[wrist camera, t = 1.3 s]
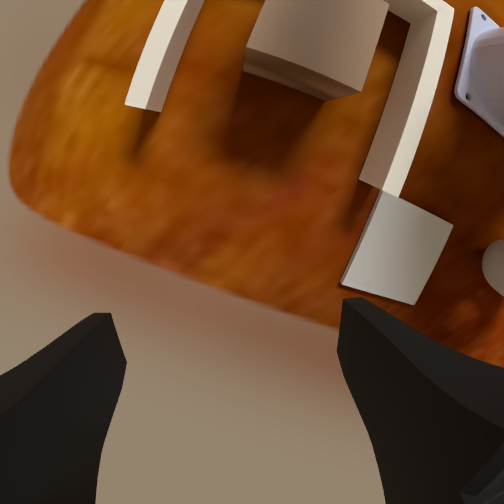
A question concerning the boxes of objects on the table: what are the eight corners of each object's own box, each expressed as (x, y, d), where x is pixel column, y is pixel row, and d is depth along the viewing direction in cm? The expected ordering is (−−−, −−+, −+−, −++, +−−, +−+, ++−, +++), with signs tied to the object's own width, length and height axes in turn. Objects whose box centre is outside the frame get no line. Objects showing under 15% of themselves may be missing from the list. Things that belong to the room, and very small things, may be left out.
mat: (450, 223, 18) (453, 225, 17) (411, 302, 20) (414, 305, 19) (380, 188, 17) (383, 190, 16) (339, 281, 19) (341, 284, 18)
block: (349, 32, 13) (389, 4, 9) (325, 101, 15) (361, 91, 10) (270, 1, 12) (284, -42, 8) (242, 71, 14) (246, 46, 9)
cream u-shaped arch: (426, 20, 13) (454, 9, 10) (373, 185, 16) (398, 197, 14) (219, -63, 10) (217, -90, 8) (143, 108, 14) (124, 104, 11)
